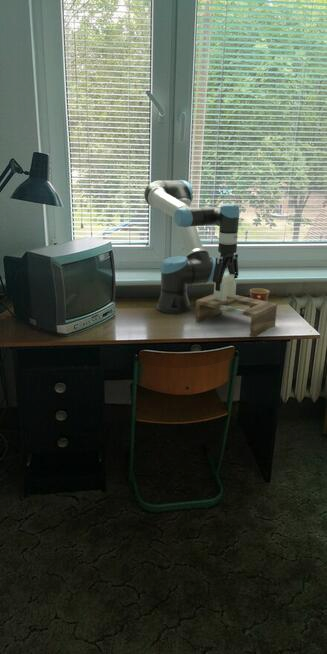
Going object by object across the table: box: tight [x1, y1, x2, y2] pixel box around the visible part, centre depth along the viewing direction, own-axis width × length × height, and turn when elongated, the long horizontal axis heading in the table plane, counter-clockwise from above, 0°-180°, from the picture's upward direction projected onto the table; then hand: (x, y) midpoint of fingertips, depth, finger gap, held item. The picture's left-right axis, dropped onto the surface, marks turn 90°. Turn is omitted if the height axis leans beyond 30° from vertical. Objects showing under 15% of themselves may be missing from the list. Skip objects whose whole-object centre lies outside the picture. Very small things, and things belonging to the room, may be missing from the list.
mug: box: [249, 287, 271, 308], centre depth 217 cm, size 12×9×10 cm
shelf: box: [195, 293, 278, 338], centre depth 204 cm, size 28×18×10 cm, turn 51°
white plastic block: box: [213, 272, 237, 301], centre depth 206 cm, size 5×9×10 cm, turn 141°
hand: (224, 295), depth 208 cm, fingers closed on white plastic block, 9 cm apart
